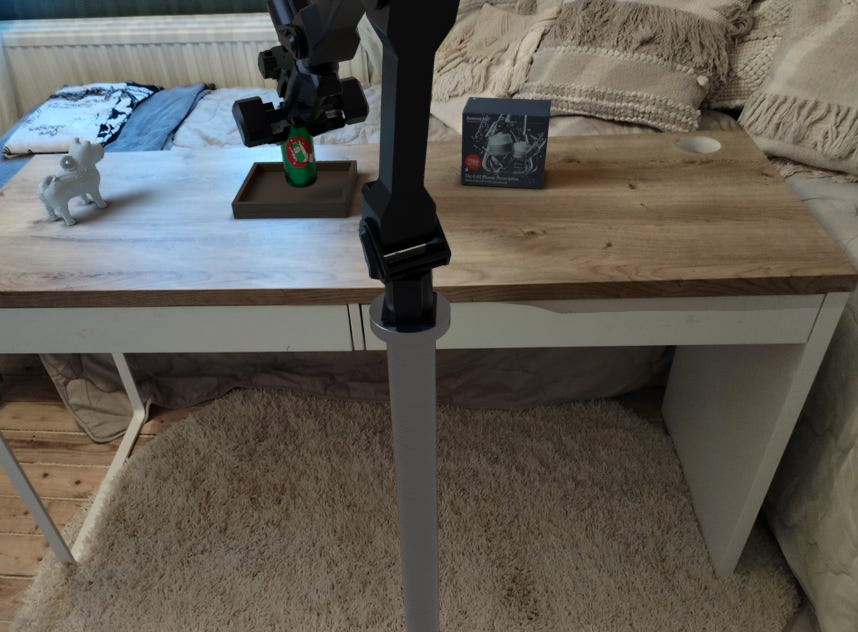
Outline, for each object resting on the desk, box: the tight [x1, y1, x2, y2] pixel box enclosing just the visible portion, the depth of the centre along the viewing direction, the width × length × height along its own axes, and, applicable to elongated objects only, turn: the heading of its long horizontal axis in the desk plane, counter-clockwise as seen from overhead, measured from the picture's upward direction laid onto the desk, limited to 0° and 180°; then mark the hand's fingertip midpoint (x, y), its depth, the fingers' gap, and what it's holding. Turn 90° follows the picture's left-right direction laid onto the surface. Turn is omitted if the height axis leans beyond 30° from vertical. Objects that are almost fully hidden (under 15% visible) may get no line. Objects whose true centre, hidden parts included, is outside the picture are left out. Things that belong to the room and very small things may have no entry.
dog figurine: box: [36, 137, 108, 226], centre depth 112 cm, size 5×13×11 cm, turn 152°
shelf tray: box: [230, 159, 359, 220], centre depth 114 cm, size 16×18×2 cm
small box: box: [460, 96, 552, 190], centre depth 111 cm, size 13×7×12 cm, turn 76°
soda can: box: [276, 104, 318, 188], centre depth 107 cm, size 5×5×12 cm
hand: (293, 138), depth 107 cm, fingers closed on soda can, 5 cm apart
